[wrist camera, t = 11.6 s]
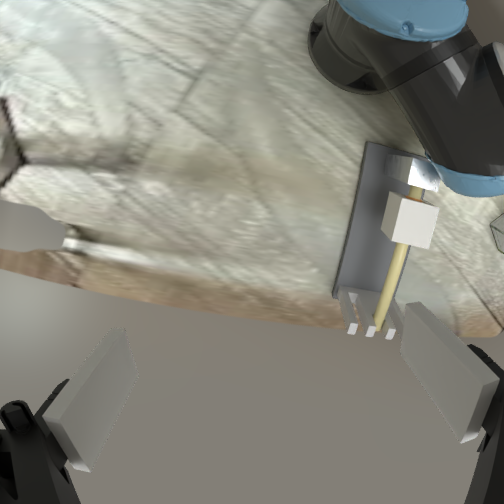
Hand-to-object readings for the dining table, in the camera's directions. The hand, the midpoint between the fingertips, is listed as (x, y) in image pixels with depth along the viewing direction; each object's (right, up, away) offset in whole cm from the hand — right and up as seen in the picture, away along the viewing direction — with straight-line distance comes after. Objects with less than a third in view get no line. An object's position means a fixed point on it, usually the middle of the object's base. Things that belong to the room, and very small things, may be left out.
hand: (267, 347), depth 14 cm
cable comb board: (+19, +8, +32) cm, 38 cm away
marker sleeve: (+18, +9, +24) cm, 31 cm away
